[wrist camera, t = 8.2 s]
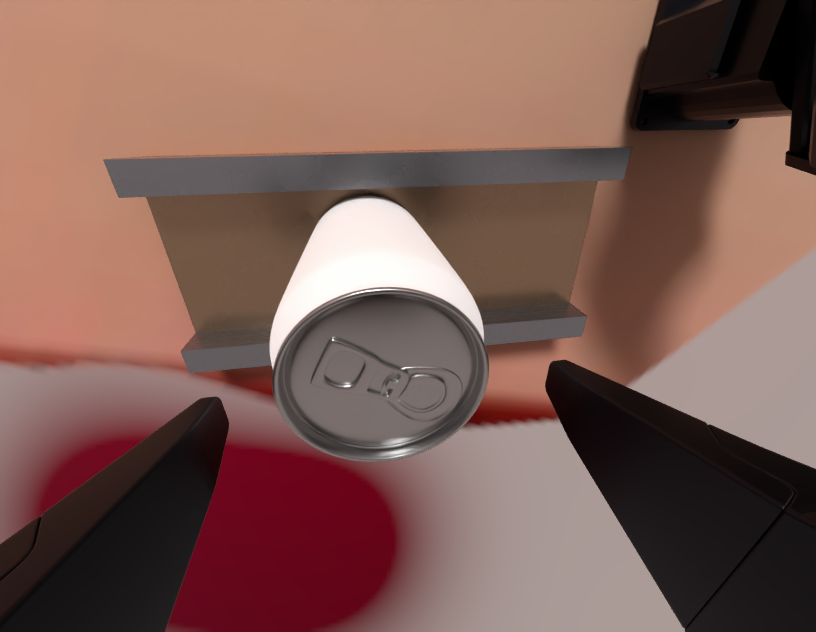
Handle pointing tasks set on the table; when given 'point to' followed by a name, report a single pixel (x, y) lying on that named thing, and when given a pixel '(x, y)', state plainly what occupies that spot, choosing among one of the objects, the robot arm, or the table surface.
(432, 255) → the can
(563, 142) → the table surface
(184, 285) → the track
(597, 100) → the table surface
